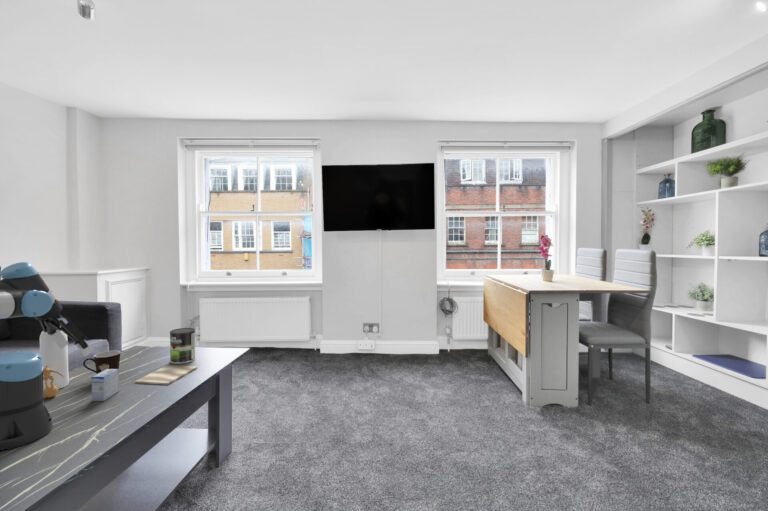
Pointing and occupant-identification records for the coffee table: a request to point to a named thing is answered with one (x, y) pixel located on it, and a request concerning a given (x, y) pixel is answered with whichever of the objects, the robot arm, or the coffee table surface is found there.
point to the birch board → (166, 375)
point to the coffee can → (182, 345)
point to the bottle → (54, 360)
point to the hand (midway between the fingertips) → (76, 349)
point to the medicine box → (105, 384)
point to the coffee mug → (105, 361)
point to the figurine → (51, 390)
